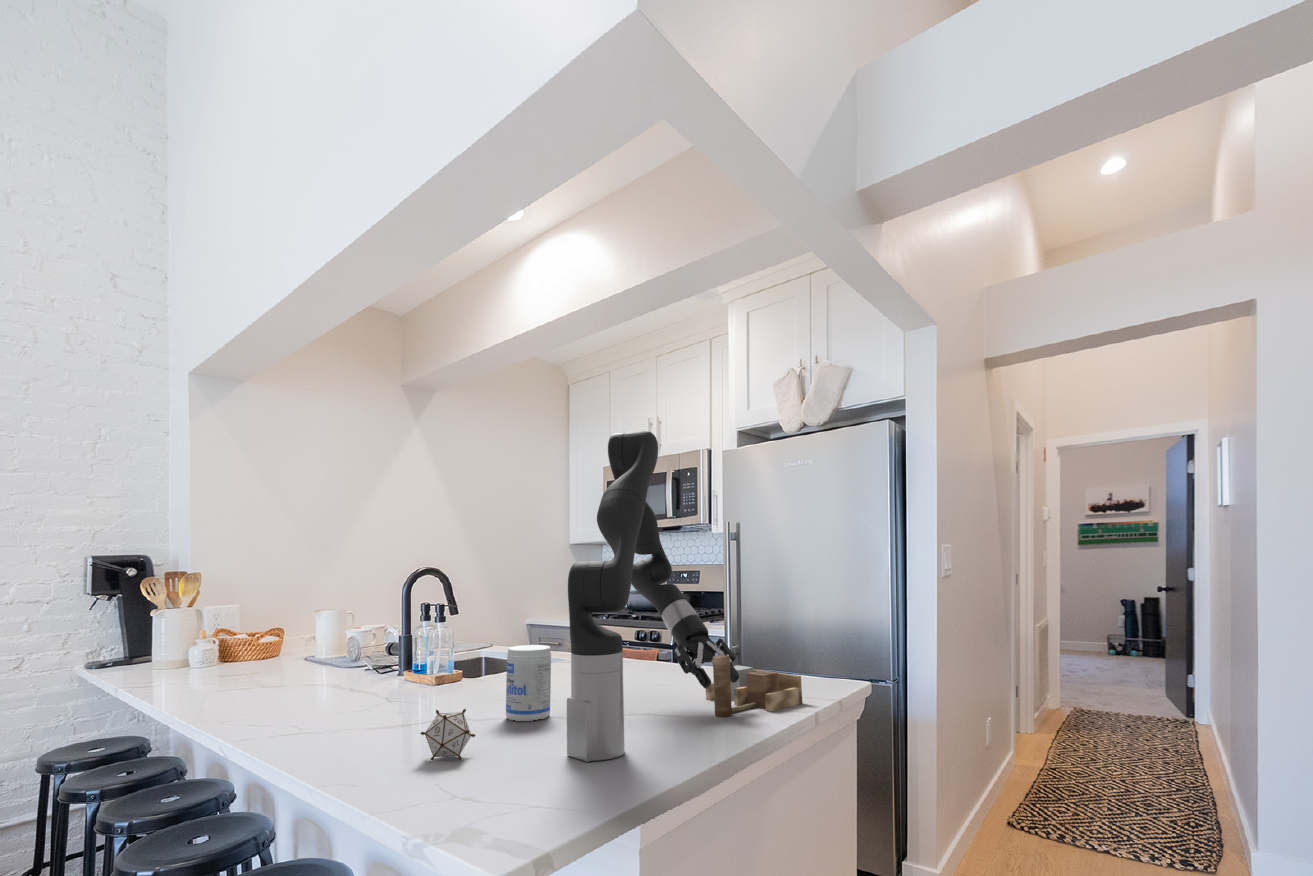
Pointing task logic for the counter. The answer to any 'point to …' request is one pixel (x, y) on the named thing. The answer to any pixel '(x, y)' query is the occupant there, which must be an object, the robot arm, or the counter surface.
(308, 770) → the counter surface
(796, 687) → the lane shelf
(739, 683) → the grey block
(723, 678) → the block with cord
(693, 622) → the robot arm
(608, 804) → the counter surface
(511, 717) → the supplement tub
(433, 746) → the game die
